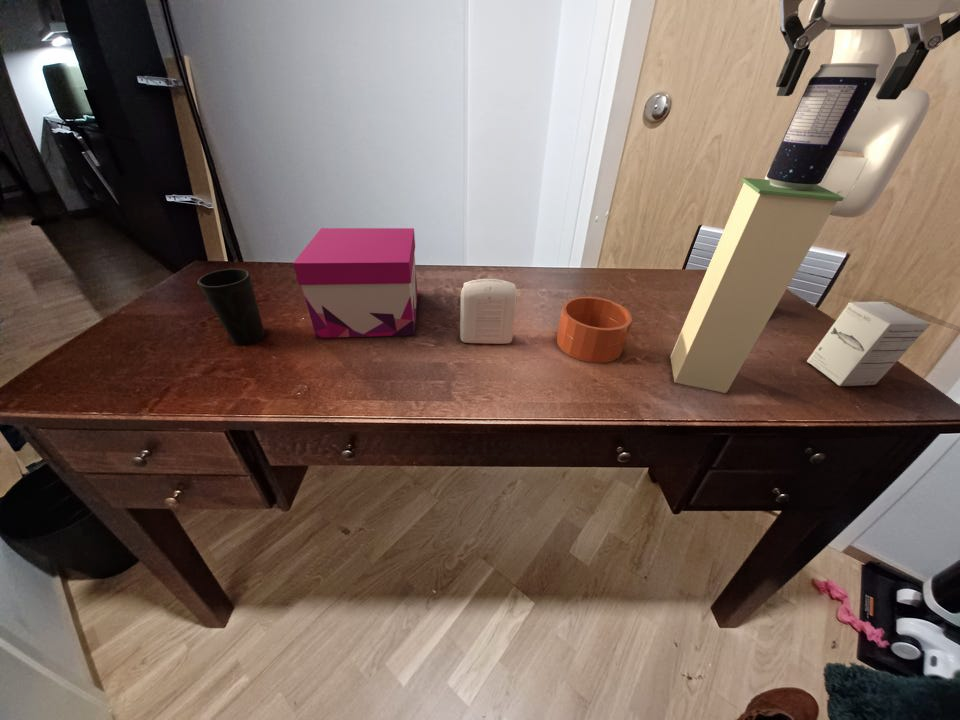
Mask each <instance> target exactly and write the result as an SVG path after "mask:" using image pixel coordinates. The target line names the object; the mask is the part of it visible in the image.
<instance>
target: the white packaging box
mask: <svg viewBox="0 0 960 720" xmlns="http://www.w3.org/2000/svg"><path fill="white" fill-rule="evenodd" d="M930 326H932V324H931V323H930V322H928V321H925V320H924V319H921V318H919V317H918V316H916V315H913V314H911V313H909V312H907V311H905V310H903V309H901V308H899V307H897V306H895V305H894V304H891V303H889V302H887V301H851V302H848V304H847V305H846V306H845V308H844V309H843V310H842V311H841V313H840V314H839V316H838V317H837V319H836V320H835V322H833V324H832V325H831V327H830V328H829V330H828V331H827V332H826V334H825V335H824V336H823V338H822V339H821V340H820V342H819V343H818V345H817V346H816V347H815V349H814V350H813V352H812V353H811V354H810V356H809V357H808V359H807V360H806V362H807V363H808V364H810V365H811V366H813V367H814V368H815V369H817V370H818V371H819V372H821V373H822V374H823V375H825V376H826V377H827V378H828V379H830V380H831V381H832V382H834V383H835V384H836V385H837V386H839V387H854V386H855V387H856V386H874V385H876V384H877V383H878V382H880V380H881V379H882V378H883V377H884V376H886V374H887V373H888V372H889V371H890V370H891V369H892V368H893V366H894V365H895V364H896V363H897V362H898V361H899V360H900V359H901V357H902V356H903V355H905V353H906V352H907V351H908V350H909V349H910V347H912V345H913V344H914V343H916V341H917V340H918V339H919V338H920V337H921V335H922V334H924V332H926V331H927V329H928V328H930Z"/></svg>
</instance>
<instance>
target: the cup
mask: <svg viewBox="0 0 960 720" xmlns="http://www.w3.org/2000/svg"><path fill="white" fill-rule="evenodd" d="M197 286H198V287H199V288H200V290H201V292H202V293H203V295H204V296H205V298H206V300H207V302H208V303H209V305H210V307H211V308H212V310H213V313H214V314H215V316H216V317H217V319H218V320H219V322H220V323H221V325H222V327H223V329H224V330H225V332H226V334H227V336H228V337H229V339H230V341H231V343H233V344H235V345H238V346H243V345H244V346H245V345H250V344H253V343H256V342H258V341H260V340H262V339H263V338H264V337H265V335H266V334H265V329H264V324H263V321H262V317H261V314H260V309H259V305H258V301H257V297H256V294H255V290H254V286H253V281H252V277H251V274H250V272H249V271H248V270H245V269H242V268H225V269H220V270H219V269H218V270H215V271H211V272H209V273H206V274H204V275H203V276H201V277H199V279H197Z"/></svg>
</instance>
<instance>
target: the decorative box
mask: <svg viewBox="0 0 960 720" xmlns="http://www.w3.org/2000/svg"><path fill="white" fill-rule="evenodd" d="M415 251H416V236H415V228H414V227H413V228H412V227H409V228H408V227H406V228H405V227H402V228H401V227H396V228H395V227H391V228H390V227H383V228H382V227H368V228H367V227H362V228H361V227H343V228H342V227H328V228H327V227H321V228H320V229H319V230H318V231H317V233H316V234H315V235H314V236H313V237H312V239H311V240H310V241H309V243H308V244H307V245H306V246H305V247H304V249H303V250H302V251H301V252H300V254H299V255H298V256H297V257H296V259H295V260H294V261H293V262H292V266H293V269H294V273H295V276H296V279H297V283H298V286H301V289H302V292H303V296H304V300H305V302H306V306H307V307H306V308H307V310H308V314H309V316H310V322H311V325H312V328H313V331H314V335H315V338H316V339H325V338H326V339H328V338H329V339H330V338H331V339H332V338H361V337H362V338H363V337H398V336H401V337H403V336H415V331H416V330H415V328H416V316H417V305H418V304H417V303H418V282H417V281H418V280H417V268H416V258H415V257H416V256H415V255H416V254H415V253H416V252H415Z"/></svg>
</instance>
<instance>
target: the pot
mask: <svg viewBox="0 0 960 720" xmlns="http://www.w3.org/2000/svg"><path fill="white" fill-rule="evenodd" d="M632 323H633V316H632V314H631V312H630V310H628V309H627V308H626V307H625V306H624V305H622V304H619V303H617V302H616V301H612V300H610V299H608V298H602V297H598V296H578V297H573V298H570V299H568V300H567V301H565V302H564V303H563V305H562V307H561V312H560V317H559V323H558V328H557V333H556V343H557V346H558V347H559V349H560V350H561V351H562V352H564V353H565V354H566V355H568V356H570V357H572V358H573V359H576V360H579V361H583V362H586V363H587V362H588V363H596V364H601V363H609V362H612V361H615V360H616V359H618V358H619V357H620V356H621V355H622V353H623V351H624V347H625V344H626V341H627V338H628V335H629V332H630V330H631V326H632Z"/></svg>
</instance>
